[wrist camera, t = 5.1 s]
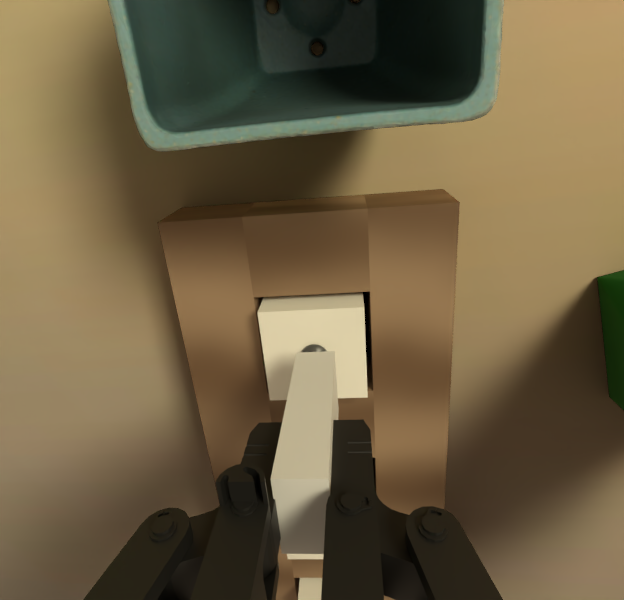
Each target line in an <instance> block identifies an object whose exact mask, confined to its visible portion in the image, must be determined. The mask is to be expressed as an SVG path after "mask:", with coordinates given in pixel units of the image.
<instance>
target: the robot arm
mask: <svg viewBox="0 0 624 600" xmlns="http://www.w3.org/2000/svg"><path fill="white" fill-rule="evenodd" d="M338 413H339V407H338V393H337V379H336V364H335V351H325V352H297V353H296V358H295V363H294V368H293V372H292V377H291V382H290V387H289V392H288V397H287V402H286V406H285V411H284V416H283V421H282V422H264V423H258V424H257V425H256V427H255V428H254V429H253V430H252V431H251V432H250V434H249V438H248V441H247V446H246V448H245V451H244V456H243V458H242V461H241V464H238V465H234V466H232V467H230V468H227V469H226V470H225V471H223V472H222V473H221V474H220V475H219V476H218V478H217V480H216V481H215V484H216V488H217V493H218V498H219V502H220V507H218V508H216V509H215V510H213V511H210V512H208V513H205V514H201V515H198V516H194V517H190V518H189V517H188V515H187V514H186V512H185V511H183V510H181V509H178V508H167V509H163V510H160V511H158V512H156V513H154V514H152V515H151V516H149V517H148V518H147V519H146V520H145V521H144V522H143V523H142V524H141V525H140V527H139V528H138V529H137V531H136V532H135V533H134V535H133V536H132V537H131V538H130V540H129V541H128V542H127V544H126V545H125V546H124V548H123V549H122V550H121V551H120V553H119V554H118V555H117V557H116V558H115V559H114V561H113V562H112V563H111V564H110V566H109V567H108V568H107V570H106V571H105V572H104V574H103V575H102V576H101V577H100V579H99V580H98V581H97V583H96V584H95V585H94V587H93V588H92V589H91V590H90V592H89V593H88V594H87V596H86V597H85V598H84V600H276V593H277V586H278V579H279V563H278V553H279V546H281V552H282V554H324V555H323V573H322V592H321V600H384V596H387V597H390V598H393V599H395V600H503V599H502V597H501V596H500V594H499V592H498V590H497V588H496V587H495V585H494V583H493V581H492V580H491V578H490V576H489V574H488V573H487V571H486V569H485V567H484V566H483V564H482V562H481V560H480V559H479V557H478V555H477V553H476V552H475V550H474V548H473V546H472V545H471V543H470V541H469V539H468V537H467V536H466V534H465V532H464V530H463V529H462V527H461V525H460V523H459V522H458V521H457V520H456V518H455V517H454V516H453V515H452V514H450V513H449V512H447V511H446V510H444V509H441V508H438V507H434V506H424V507H420V508H418V509H415V510H414V511H413V512H412V513H411V514H410V515H408V514H404V513H401V512H398V511H395V510H392V509H390V508H389V507H387V506H386V505H384V504H383V503H382V502H381V501H380V500H379V498H378V496H377V494H376V491H375V483H374V470H373V457H372V444H371V431H370V428H369V427H368V426H367V424H366V423H365V421H364V420H363V419H360V420H338Z"/></svg>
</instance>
